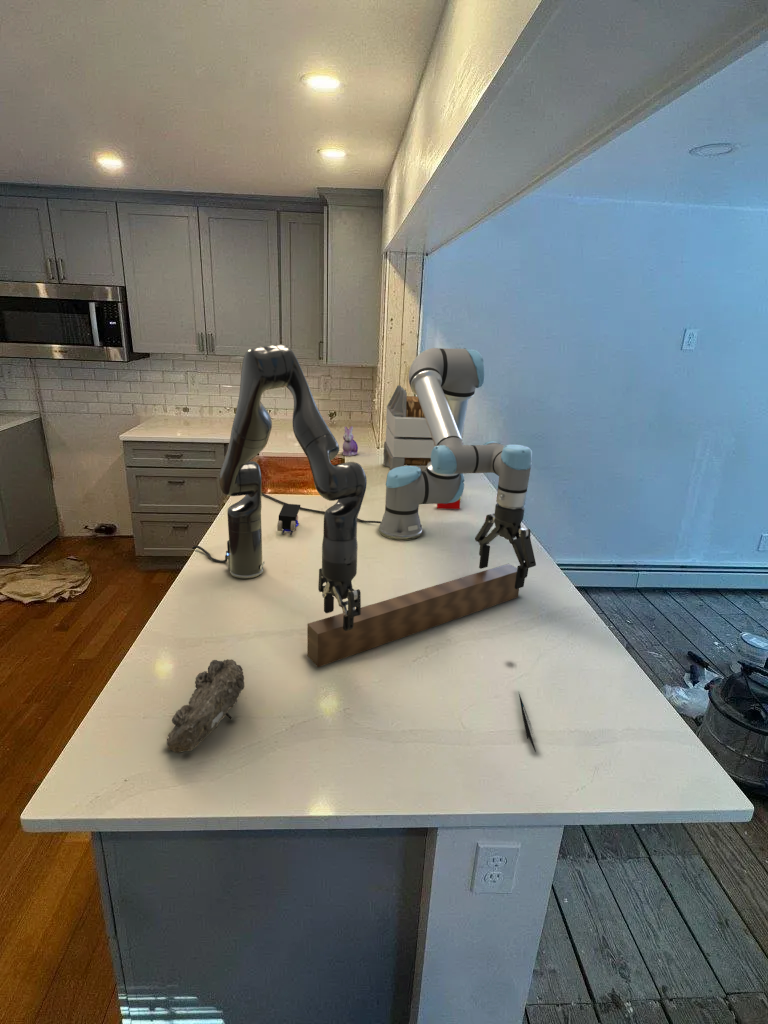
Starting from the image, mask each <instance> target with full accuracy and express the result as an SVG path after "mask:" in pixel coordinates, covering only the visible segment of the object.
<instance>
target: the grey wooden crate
mask: <svg viewBox="0 0 768 1024" xmlns="http://www.w3.org/2000/svg"><path fill="white" fill-rule="evenodd" d="M407 394H408V393H407V390H406V389H404V388H403V387H402V385H399V384H398V385H397V386H396V388H395V390H394V392H393V394H392V395H391V398H390V400H389V402H388V404H387V405H386V413H385V414H386V415H385V423H386V428H385V438H384V442H383V466H384V467H388V468H389V471H390V470H392V469H394V468H397V467H401V466H416V467H427V464H428V463H429V462H430V461H431V453H432V450H433V448H434V446H435V445H434V442H433V439H432V436H431V433H430V431H429V428H428V425H427V422H426V419H425V416H424V414H423V411H422V408H421V405H420V402H419V399H418V397H417V396H416V395H414V396H413V395H412V396H411V395H407ZM464 429H465V427H464V428H463V433H462V439H463V438H464V431H465V430H464Z"/></svg>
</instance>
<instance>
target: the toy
mask: <svg viewBox="0 0 768 1024" xmlns="http://www.w3.org/2000/svg"><path fill="white" fill-rule="evenodd" d="M461 499H462V496H461V497H460V499H459V500H458V501H456V502H453V503H447V504H443V503H439V504H436V509H443V510H460V509H461V501H462V500H461Z"/></svg>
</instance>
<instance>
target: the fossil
mask: <svg viewBox="0 0 768 1024" xmlns="http://www.w3.org/2000/svg"><path fill="white" fill-rule="evenodd" d="M243 670H244V669H243V667H242V665H240V664H237V662H236V661H235V660H234V659H232V658H231V659H227V658H226V659H224V660H223V661H222V660H217V659H212V660H211V661H210V663H209V665H208V666H207V671H201V672H199V673H198V674H197V675H196V676H195V680H194V684H195V685H194V687H195V689H194V690H193V693H192V694H191V697H190V698H189V700H188V704H184V705H182V706H181V707H180V709H177V710H176V711H175V713H174V715H173V716H172V718H171V723H172V724H173V727H172V730H171V731H170V732H168V734H167V738H166V741H167V742H166V745H167V749H168V750H169V751H173V752H174V753H176V754H178V753H182V752H188V751H189V752H192V751H193V750H195V748H196V747H197V746H199V744H200V743H201V742H203V741H204V740H205V739H206V738H207V737H208V736H209V735H210V734H211V733H212V732H214V730H215V729H217V727H218V726H219V724H220V722H221V721H222V720H223V719H224V718H225V716H226V717H227V719H229V720H233V717H232V715H230V714H229V710H230V709H231V708H234V706H235V704H236V703H237V702H238V699H239V697H240V695H241V693H242V691H243V690H245V689H244V688H245V675H244V671H243Z"/></svg>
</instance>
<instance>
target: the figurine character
mask: <svg viewBox="0 0 768 1024" xmlns="http://www.w3.org/2000/svg"><path fill="white" fill-rule="evenodd" d="M300 507H301V504H295V503H288V504H282V507H281V509H280V512H279V514H278V521H277V526H276V529H277V531H278V532H281V535H283V536H284V535H285V532H287V533H289V532H290V533H289V535H290V536H293V533H294V532H295V531H297V527H299V526H300V523H299V514H298V513H299V512H300V510H301V509H300Z"/></svg>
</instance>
